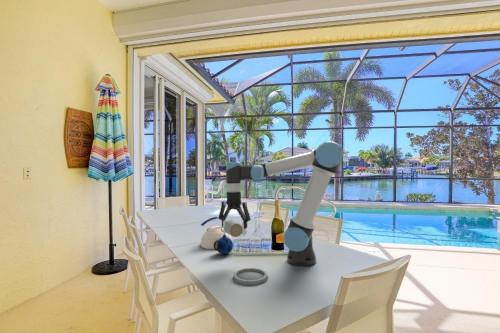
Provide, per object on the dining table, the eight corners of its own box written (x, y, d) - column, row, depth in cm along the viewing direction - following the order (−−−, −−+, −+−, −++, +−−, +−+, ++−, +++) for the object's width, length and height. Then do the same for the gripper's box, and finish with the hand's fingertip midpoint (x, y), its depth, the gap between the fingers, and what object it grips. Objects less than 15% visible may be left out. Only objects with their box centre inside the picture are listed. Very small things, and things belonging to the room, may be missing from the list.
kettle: (237, 246, 176) (237, 217, 175) (205, 251, 166) (205, 221, 166) (226, 238, 194) (225, 212, 193) (196, 242, 185) (196, 215, 184)
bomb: (212, 253, 162) (211, 227, 162) (229, 250, 167) (228, 225, 167) (218, 258, 154) (217, 231, 154) (235, 255, 159) (235, 228, 159)
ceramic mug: (230, 238, 139) (230, 223, 139) (224, 234, 146) (224, 220, 146) (249, 235, 144) (249, 221, 144) (242, 232, 151) (242, 218, 151)
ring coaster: (273, 273, 131) (273, 270, 131) (260, 288, 116) (259, 284, 116) (242, 269, 138) (242, 265, 138) (226, 281, 123) (226, 277, 123)
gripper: (256, 191, 143) (257, 233, 143) (218, 190, 153) (219, 230, 153) (250, 192, 136) (251, 237, 137) (211, 191, 146) (211, 233, 146)
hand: (234, 233), depth 145 cm, fingers closed on ceramic mug, 10 cm apart
